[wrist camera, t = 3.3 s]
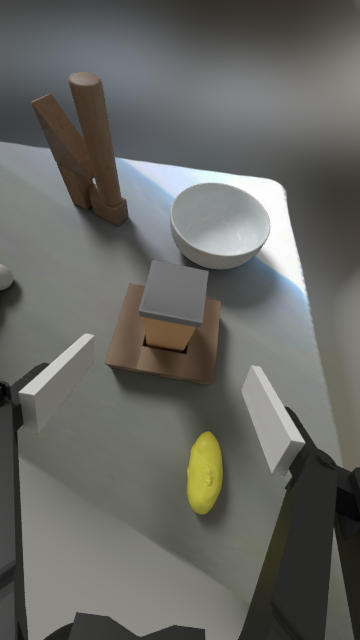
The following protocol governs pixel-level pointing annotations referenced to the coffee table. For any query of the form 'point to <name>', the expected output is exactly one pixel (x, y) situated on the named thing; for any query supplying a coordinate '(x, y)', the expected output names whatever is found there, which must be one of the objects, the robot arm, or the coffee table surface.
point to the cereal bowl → (218, 225)
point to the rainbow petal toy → (5, 277)
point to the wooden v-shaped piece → (84, 148)
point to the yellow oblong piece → (204, 473)
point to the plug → (172, 305)
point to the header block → (138, 358)
